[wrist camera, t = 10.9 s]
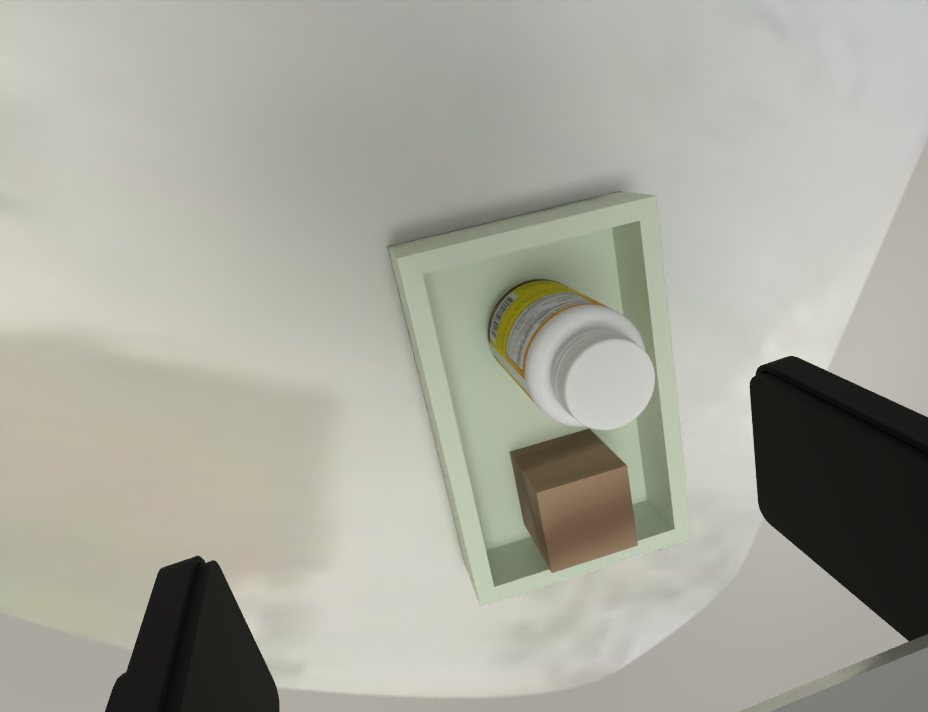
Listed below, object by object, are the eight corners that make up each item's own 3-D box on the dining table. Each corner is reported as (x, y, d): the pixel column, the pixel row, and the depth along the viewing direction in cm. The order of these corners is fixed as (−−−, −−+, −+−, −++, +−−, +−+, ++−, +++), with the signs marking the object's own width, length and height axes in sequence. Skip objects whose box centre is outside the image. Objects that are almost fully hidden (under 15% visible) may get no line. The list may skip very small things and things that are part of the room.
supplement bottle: (587, 358, 37) (681, 428, 28) (494, 385, 36) (558, 466, 27) (572, 264, 35) (666, 303, 26) (474, 290, 34) (534, 340, 25)
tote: (387, 246, 34) (396, 258, 30) (618, 191, 35) (656, 195, 32) (464, 563, 40) (480, 606, 36) (656, 502, 42) (691, 538, 38)
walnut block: (509, 451, 38) (536, 493, 33) (589, 428, 38) (627, 465, 34) (523, 524, 39) (551, 573, 35) (600, 500, 40) (638, 545, 35)
